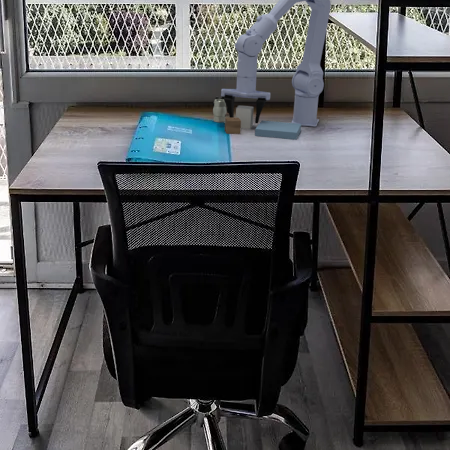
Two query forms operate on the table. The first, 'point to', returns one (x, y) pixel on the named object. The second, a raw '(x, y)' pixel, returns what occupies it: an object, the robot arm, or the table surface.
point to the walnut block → (232, 125)
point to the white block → (245, 116)
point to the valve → (219, 109)
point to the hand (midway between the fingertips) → (244, 121)
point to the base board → (278, 129)
